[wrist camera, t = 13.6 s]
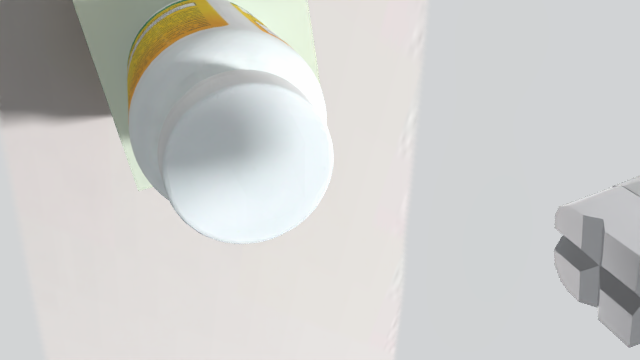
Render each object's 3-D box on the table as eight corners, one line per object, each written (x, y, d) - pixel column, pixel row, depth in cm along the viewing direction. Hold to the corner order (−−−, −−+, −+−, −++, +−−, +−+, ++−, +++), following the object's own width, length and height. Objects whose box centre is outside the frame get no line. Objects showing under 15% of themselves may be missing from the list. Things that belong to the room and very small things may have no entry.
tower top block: (76, -35, 23) (66, -17, 19) (267, -71, 25) (298, -62, 21) (135, 143, 27) (138, 191, 23) (297, 102, 29) (328, 140, 24)
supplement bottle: (284, 9, 22) (390, 72, 13) (258, 144, 23) (336, 273, 15) (133, -22, 20) (145, 31, 11) (118, 128, 21) (119, 267, 13)
